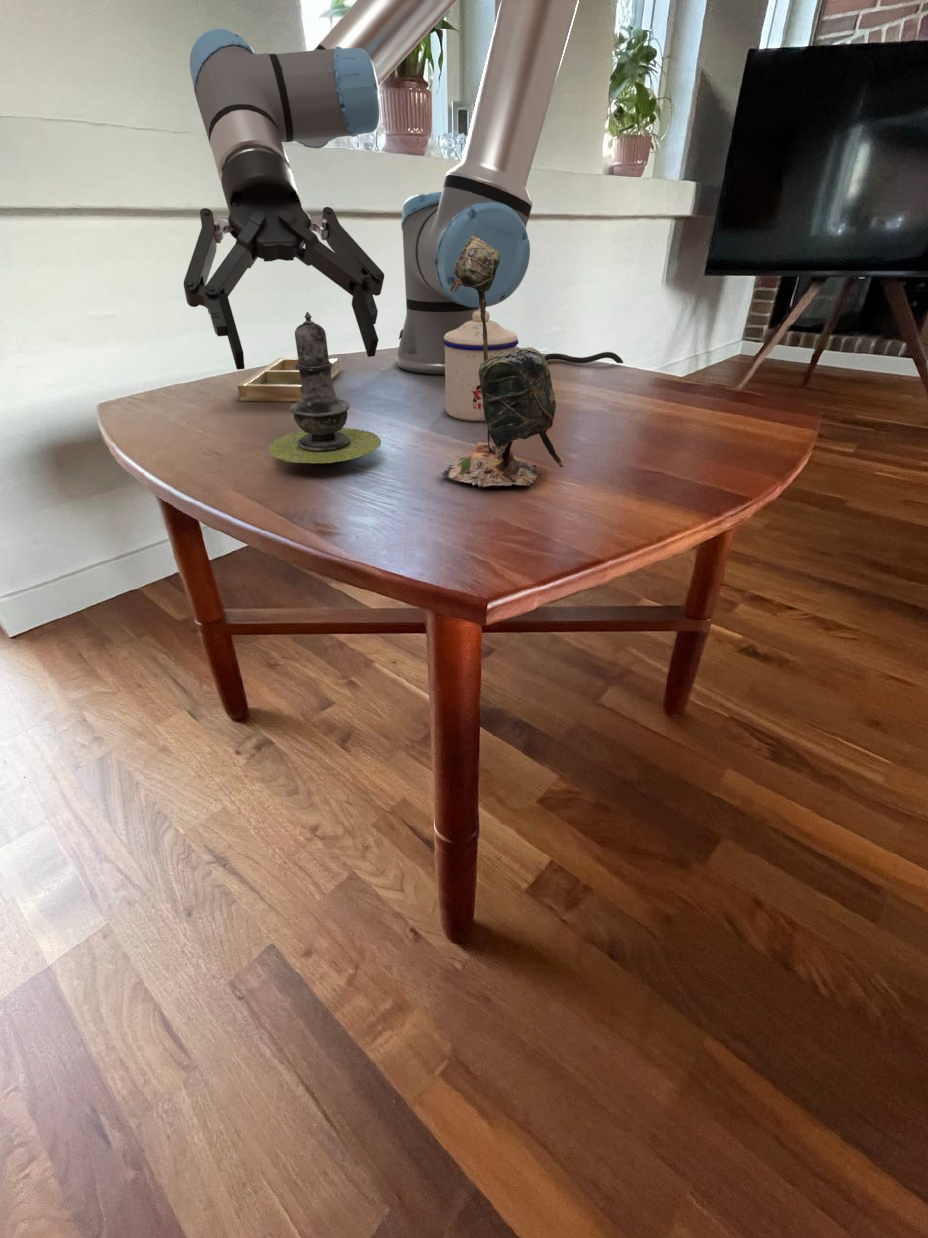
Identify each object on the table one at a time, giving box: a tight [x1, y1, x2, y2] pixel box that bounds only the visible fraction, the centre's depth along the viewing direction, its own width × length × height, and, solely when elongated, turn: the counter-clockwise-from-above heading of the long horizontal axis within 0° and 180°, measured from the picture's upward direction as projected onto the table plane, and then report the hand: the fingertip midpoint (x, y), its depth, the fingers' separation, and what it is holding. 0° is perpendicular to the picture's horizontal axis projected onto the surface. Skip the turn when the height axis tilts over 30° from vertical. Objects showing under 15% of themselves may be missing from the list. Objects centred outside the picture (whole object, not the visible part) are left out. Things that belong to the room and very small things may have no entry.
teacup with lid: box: [443, 310, 521, 422], centre depth 76 cm, size 12×9×12 cm
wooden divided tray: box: [237, 357, 340, 403], centre depth 90 cm, size 10×18×2 cm, turn 177°
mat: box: [268, 427, 382, 465], centre depth 63 cm, size 11×11×2 cm
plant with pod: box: [441, 236, 565, 488], centre depth 54 cm, size 8×11×20 cm
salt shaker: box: [288, 311, 351, 451], centre depth 59 cm, size 6×6×12 cm
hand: (309, 354), depth 63 cm, fingers open, 13 cm apart
